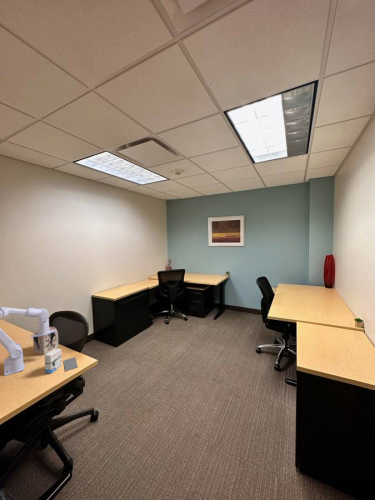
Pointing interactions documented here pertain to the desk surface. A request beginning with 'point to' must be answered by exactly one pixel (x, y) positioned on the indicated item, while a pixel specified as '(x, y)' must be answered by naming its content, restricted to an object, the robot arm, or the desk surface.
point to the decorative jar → (46, 343)
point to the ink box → (53, 360)
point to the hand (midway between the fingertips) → (44, 345)
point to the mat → (70, 364)
